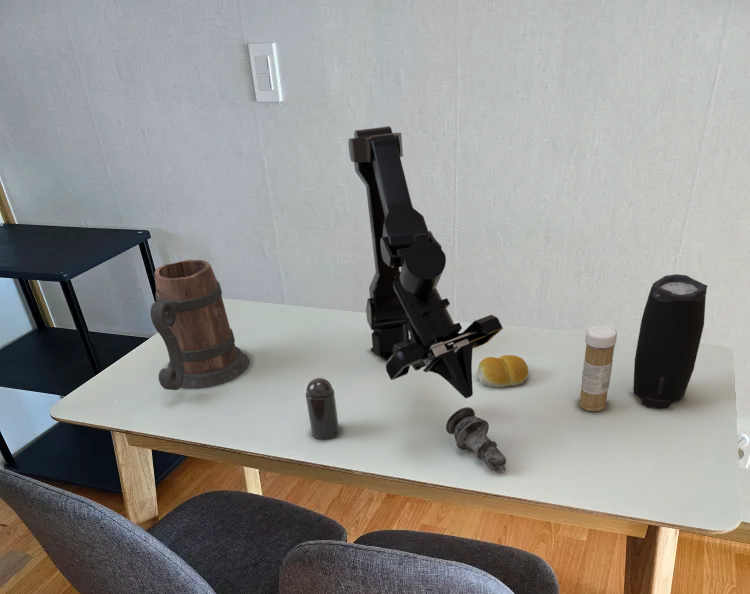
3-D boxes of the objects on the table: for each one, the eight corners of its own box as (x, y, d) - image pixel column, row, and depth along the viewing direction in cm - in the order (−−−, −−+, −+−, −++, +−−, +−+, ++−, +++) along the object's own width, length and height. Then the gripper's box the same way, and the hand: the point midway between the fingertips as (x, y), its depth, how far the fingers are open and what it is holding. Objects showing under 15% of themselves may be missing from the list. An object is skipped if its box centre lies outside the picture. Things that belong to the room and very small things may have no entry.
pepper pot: (330, 421, 119) (323, 369, 113) (344, 433, 116) (337, 380, 110) (307, 431, 117) (298, 378, 111) (320, 442, 114) (312, 389, 108)
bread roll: (534, 384, 123) (535, 364, 121) (485, 391, 123) (485, 371, 120) (519, 363, 130) (520, 343, 127) (472, 370, 129) (472, 350, 127)
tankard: (188, 346, 147) (163, 251, 135) (262, 350, 143) (243, 252, 131) (131, 403, 130) (96, 300, 117) (213, 409, 125) (186, 302, 113)
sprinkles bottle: (594, 396, 119) (603, 321, 110) (612, 407, 115) (624, 332, 107) (572, 403, 117) (580, 329, 109) (590, 415, 114) (600, 339, 106)
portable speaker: (642, 379, 122) (662, 269, 110) (695, 395, 116) (723, 280, 104) (618, 400, 117) (637, 286, 105) (673, 417, 112) (699, 299, 100)
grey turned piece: (460, 438, 112) (503, 488, 106) (437, 431, 108) (480, 482, 101) (482, 410, 110) (528, 459, 103) (460, 401, 106) (506, 452, 99)
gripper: (449, 312, 117) (491, 395, 116) (355, 346, 110) (399, 434, 109) (480, 279, 107) (526, 369, 106) (379, 313, 99) (427, 411, 99)
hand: (469, 397), depth 105 cm, fingers closed
